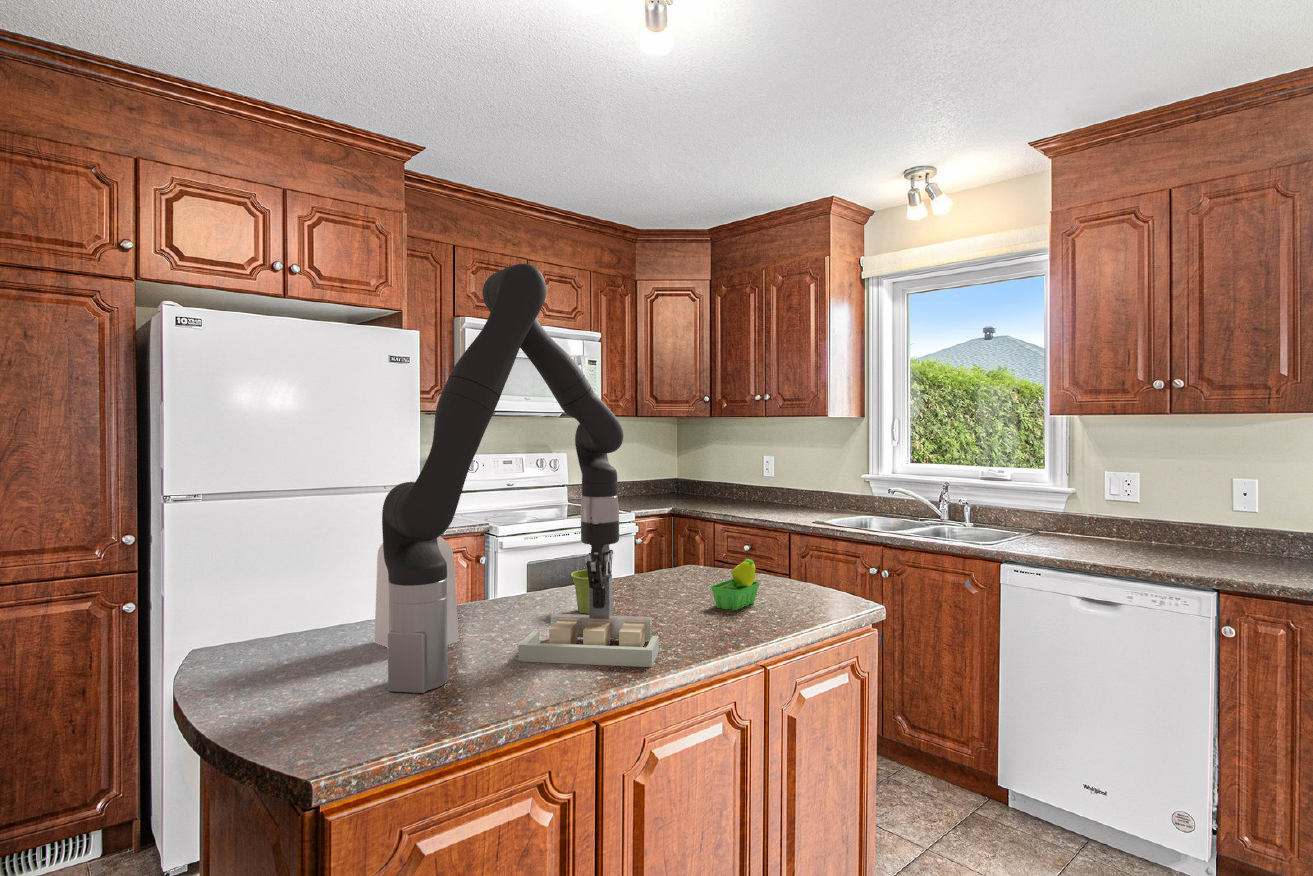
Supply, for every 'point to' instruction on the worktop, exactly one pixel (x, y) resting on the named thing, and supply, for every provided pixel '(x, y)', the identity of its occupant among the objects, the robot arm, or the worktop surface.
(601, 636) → the block middle
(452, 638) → the milk
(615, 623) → the t-shaped handle
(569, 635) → the block left
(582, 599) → the plant pot
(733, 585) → the fruit basket
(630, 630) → the block right
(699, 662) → the worktop surface
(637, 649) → the tray
